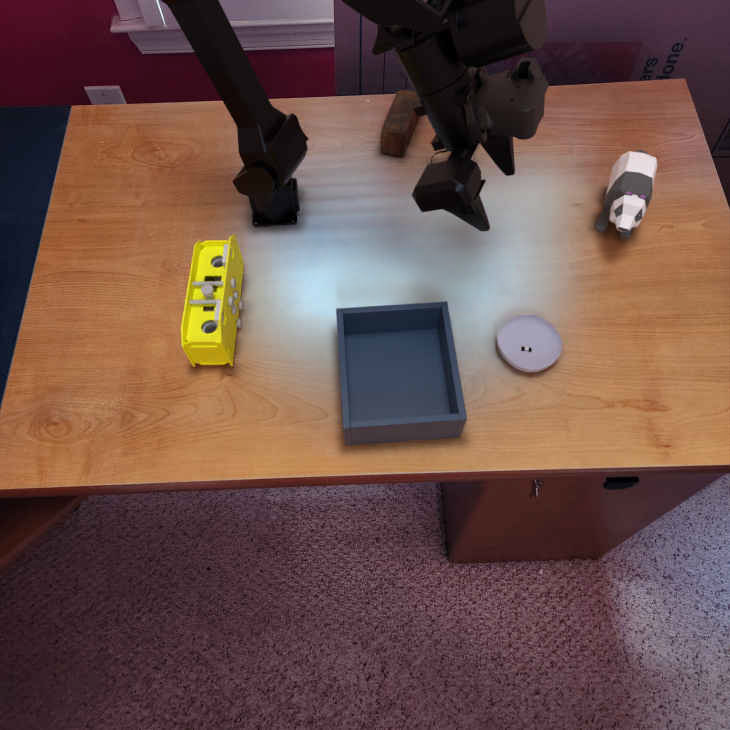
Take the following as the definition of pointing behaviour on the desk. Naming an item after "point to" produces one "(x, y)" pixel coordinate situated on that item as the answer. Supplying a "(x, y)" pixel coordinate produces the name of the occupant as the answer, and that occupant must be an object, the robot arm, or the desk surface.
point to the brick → (399, 123)
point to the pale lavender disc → (529, 343)
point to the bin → (399, 374)
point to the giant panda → (628, 192)
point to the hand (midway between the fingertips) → (498, 201)
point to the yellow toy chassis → (213, 302)
